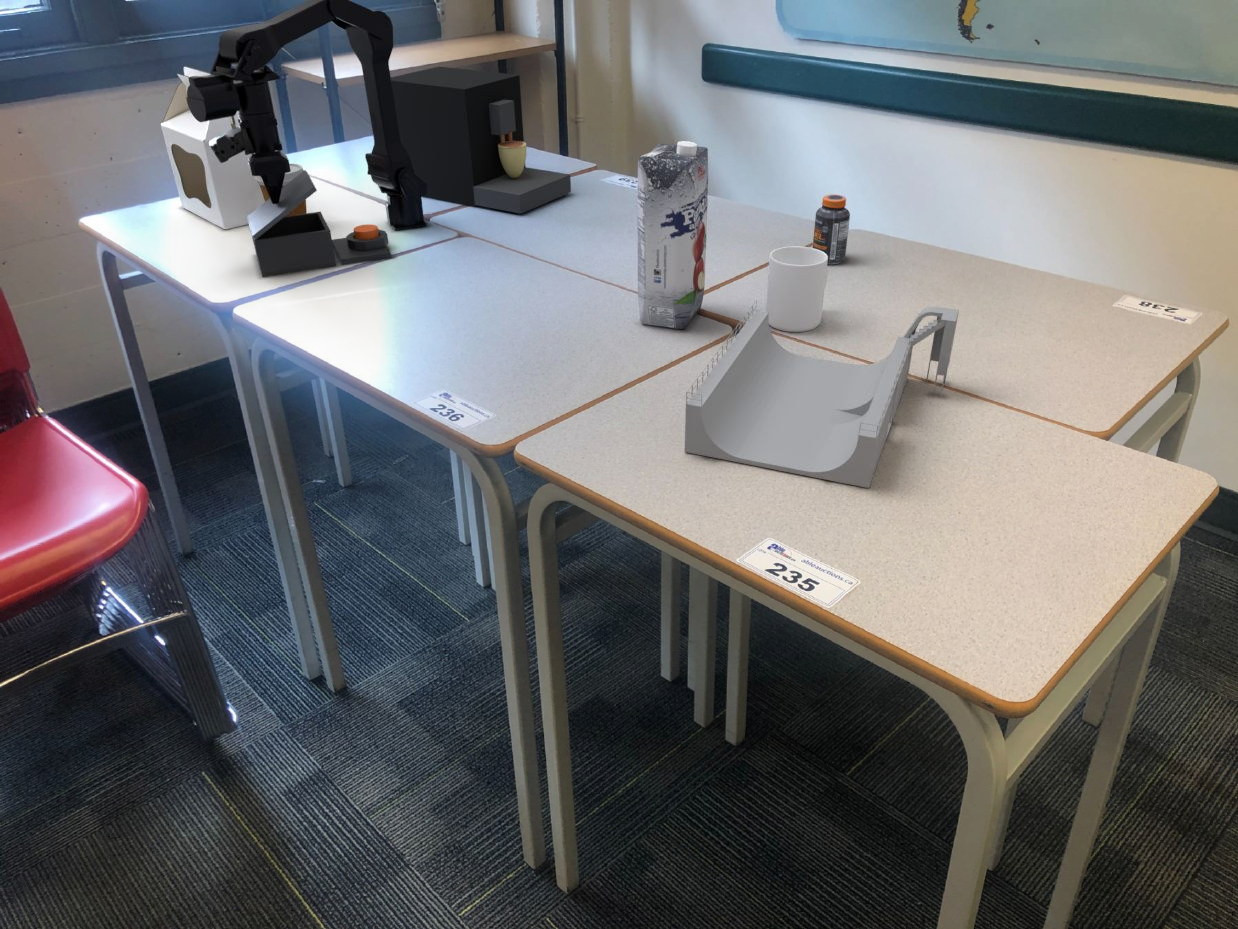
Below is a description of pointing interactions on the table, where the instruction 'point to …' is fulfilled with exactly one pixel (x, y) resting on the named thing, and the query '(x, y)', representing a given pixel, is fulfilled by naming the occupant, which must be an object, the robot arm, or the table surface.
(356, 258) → the button base
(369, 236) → the button
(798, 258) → the mug
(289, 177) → the disposable coffee cup
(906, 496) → the table surface
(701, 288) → the juice carton
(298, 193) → the lid
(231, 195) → the gable box
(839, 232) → the pill bottle
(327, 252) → the dark grey boxy piece
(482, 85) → the coffee maker
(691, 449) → the skate ramp
